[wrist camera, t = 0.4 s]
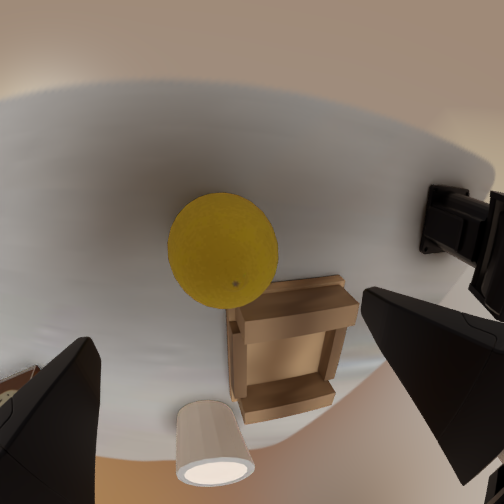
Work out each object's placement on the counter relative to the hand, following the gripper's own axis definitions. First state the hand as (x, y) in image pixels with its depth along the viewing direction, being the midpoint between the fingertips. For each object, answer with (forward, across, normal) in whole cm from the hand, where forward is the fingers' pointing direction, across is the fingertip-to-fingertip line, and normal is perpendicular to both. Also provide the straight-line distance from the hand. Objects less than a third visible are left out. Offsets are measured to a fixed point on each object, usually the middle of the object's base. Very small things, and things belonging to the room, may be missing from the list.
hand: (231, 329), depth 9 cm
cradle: (+11, -5, +11) cm, 16 cm away
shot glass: (+11, +4, +19) cm, 22 cm away
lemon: (+11, 0, 0) cm, 11 cm away
